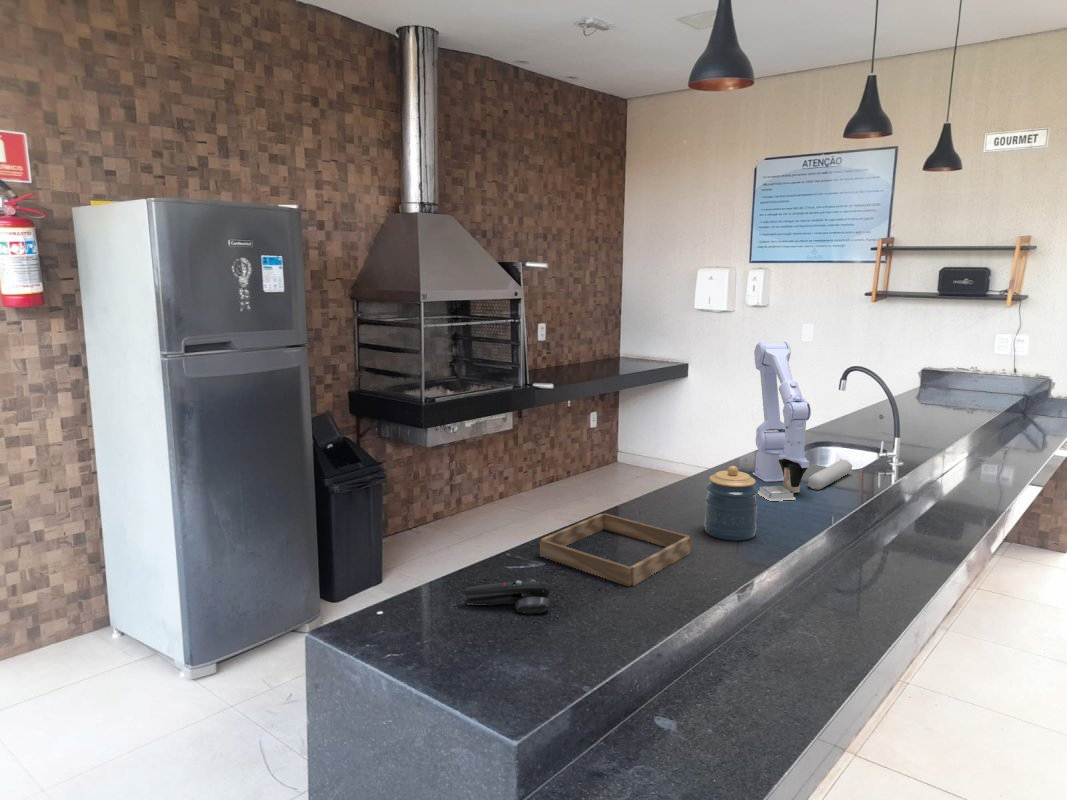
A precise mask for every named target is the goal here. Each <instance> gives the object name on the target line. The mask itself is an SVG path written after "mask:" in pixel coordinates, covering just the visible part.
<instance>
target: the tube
mask: <svg viewBox="0 0 1067 800" xmlns="http://www.w3.org/2000/svg"><path fill="white" fill-rule="evenodd" d="M852 471H853V464H852V463H850V461H849V460H847V459H841V458H840V459H839V460H838V461H837V462H835V463H833V464H831V465H828V466H826V467H825V468H823V469H821V470H818V471H817V472H815V473H812V475H811V476H809V477H808V483H807V485H808V486H809V487H810V488H811V489H812V490H817V491H820V490H822V489H824V488H825V487H827V486H829V485H831V484H833V483H835V482H836V480H837V481H838V480H841V479H842V478H844V477H845V475H846V474H848V475H850V474H851V472H852ZM843 476H844V477H843ZM846 476H847V475H846ZM841 477H842V478H841ZM834 481H835V482H834Z"/></svg>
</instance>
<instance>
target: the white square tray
mask: <svg viewBox="0 0 1067 800" xmlns="http://www.w3.org/2000/svg"><path fill="white" fill-rule="evenodd" d="M759 491H760V493H761V494H763V495H765V496H766V497H768V498H771V499H782V498H793V497H794V494H795V493H793V492H792V491H791V490H789V489H787V488H786V487H784V486H783V485H765V486H759ZM774 491H781V492H783V493H771V492H774Z"/></svg>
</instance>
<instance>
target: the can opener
mask: <svg viewBox="0 0 1067 800" xmlns="http://www.w3.org/2000/svg"><path fill="white" fill-rule="evenodd" d="M462 594H463V595H464V596H469V597H467V598H466V599H465V600H464V603H465V602H466V603H473V604H486V605H489V606H495V605H496V606H497V605H505V604H514V606H515V610H516V612H517V613H519V612H525V613H538V614H541V613H545V612H548V610H549V609H550V607H551V604H552V603H551V602H552V601H551V600H550V598H549V596H550V594H551V587H550V584H549V583H547V582H545V581H537V580H535V579H530V580H529V581H522V580H516V581H512V582H509V581H508V582H497V583H496V582H495V583H486V584H480V585H474V586H469V587H466V588H465V589H463V591H462ZM471 596H472V597H471Z"/></svg>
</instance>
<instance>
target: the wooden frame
mask: <svg viewBox="0 0 1067 800" xmlns="http://www.w3.org/2000/svg"><path fill="white" fill-rule="evenodd" d="M603 530H604V531H608V532H612V533H615V534H617V535H618V534H619V535H622V536H626V537H630V538H632V539H633V538H634V539H636V540H641V541H643V540H644V541H643V542H647V543H650V542H651V543H650V544H654V545H658V546H662V547H664V548H663V549H661V550H659V551H657V552H655V553H653V554H652V555H649V556H648V557H646V558H644V559H642V560H639V561H638V562H636V563H635V564H633V565H631V566H629V565H626V564H622V563H619V562H616V561H614V560H610V559H607V558H604V557H599V556H597V555H595V554H594V555H593V554H592V553H591V554H590V553H587V552H584V551H581V550H578V549H575V548H572V547H568V546H570V545H572V544H574V543H576V541H577V542H578V541H581V540H583V539H586V538H588V537H590V536H592V535H594V534H596V533H599V532H602V531H603ZM589 535H590V536H589ZM587 536H588V537H587ZM585 537H586V538H585ZM691 537H692V536H691V535H688V534H685V533H680V532H677V531H672V530H669V529H666V528H662V527H658V526H654V525H651V524H646V523H643V522H639V521H636V520H632V519H627V518H624V517H621V516H616V515H613V514H609V513H600V514H597V515H594V516H592V517H589V518H588V519H585V520H582V521H580V522H578V523H575V524H574V525H570V526H569V527H566V528H563V529H561V530H559V531H555V532H554V533H551V534H549V535H547V536H544V537H542V538H541V539H540V540H539V557H540V558H542V557H544V558H543V559H545V558H546V560H548V559H550V560H549V561H551V560H553V561H552V562H554V561H555V562H554V563H557V562H559V563H558V564H560V563H562V564H561V565H563V564H565V565H564V566H566V565H568V566H567V567H569V566H571V567H570V568H572V567H573V569H575V568H576V569H575V570H578V569H579V571H581V570H582V572H585V573H587V572H588V573H587V574H590V573H591V574H590V575H593V574H594V576H596V575H597V577H599V576H600V577H599V578H602V577H603V578H602V579H605V578H606V580H608V581H612V582H614V583H617V584H620V585H622V586H627V587H631V586H636V585H638V584H639V583H641V582H643V581H645V580H646V579H649V578H650V577H651V575H652V576H653V575H655V574H656V572H657V573H658V571H659V572H660V571H662V570H664V569H665V568H668V567H669V566H671V565H672V564H674V563H675V562H678V561H680V560H682V559H683V558H684V557H686V556H688V555H690V553H691ZM569 544H570V545H569ZM567 545H568V546H567ZM670 564H671V565H670ZM668 565H669V566H668ZM663 568H664V569H663ZM654 573H655V574H654Z"/></svg>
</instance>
